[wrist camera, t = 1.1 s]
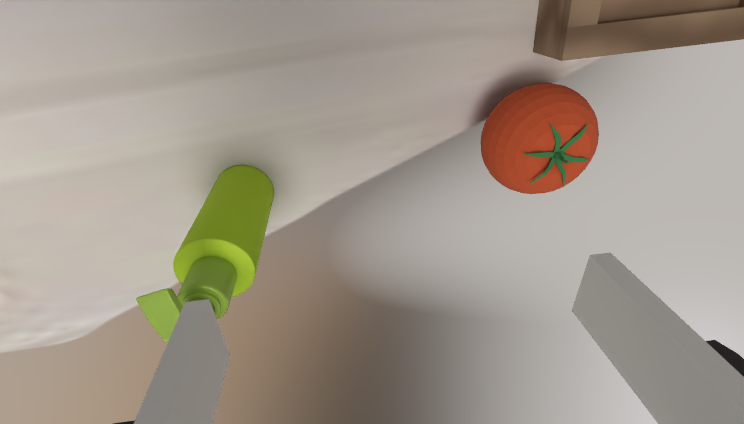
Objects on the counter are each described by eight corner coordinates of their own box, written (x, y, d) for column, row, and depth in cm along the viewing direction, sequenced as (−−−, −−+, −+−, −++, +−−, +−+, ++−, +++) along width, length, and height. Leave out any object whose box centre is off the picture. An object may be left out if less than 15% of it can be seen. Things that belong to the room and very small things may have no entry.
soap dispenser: (254, 148, 37) (196, 284, 20) (282, 204, 41) (254, 360, 24) (199, 166, 38) (98, 315, 21) (232, 221, 41) (169, 386, 24)
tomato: (581, 114, 39) (653, 149, 31) (509, 185, 43) (555, 234, 34) (520, 50, 35) (583, 70, 27) (446, 135, 39) (481, 176, 30)
